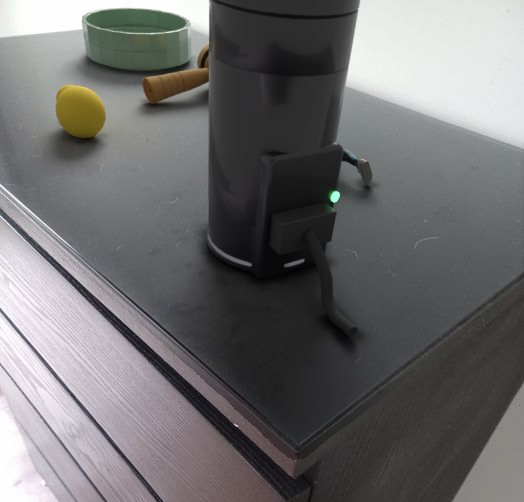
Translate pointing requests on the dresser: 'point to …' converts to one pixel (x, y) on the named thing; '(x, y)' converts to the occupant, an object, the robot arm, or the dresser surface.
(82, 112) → the yellow lemon
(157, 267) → the dresser surface
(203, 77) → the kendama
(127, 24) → the bowl
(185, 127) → the dresser surface
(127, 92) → the dresser surface
